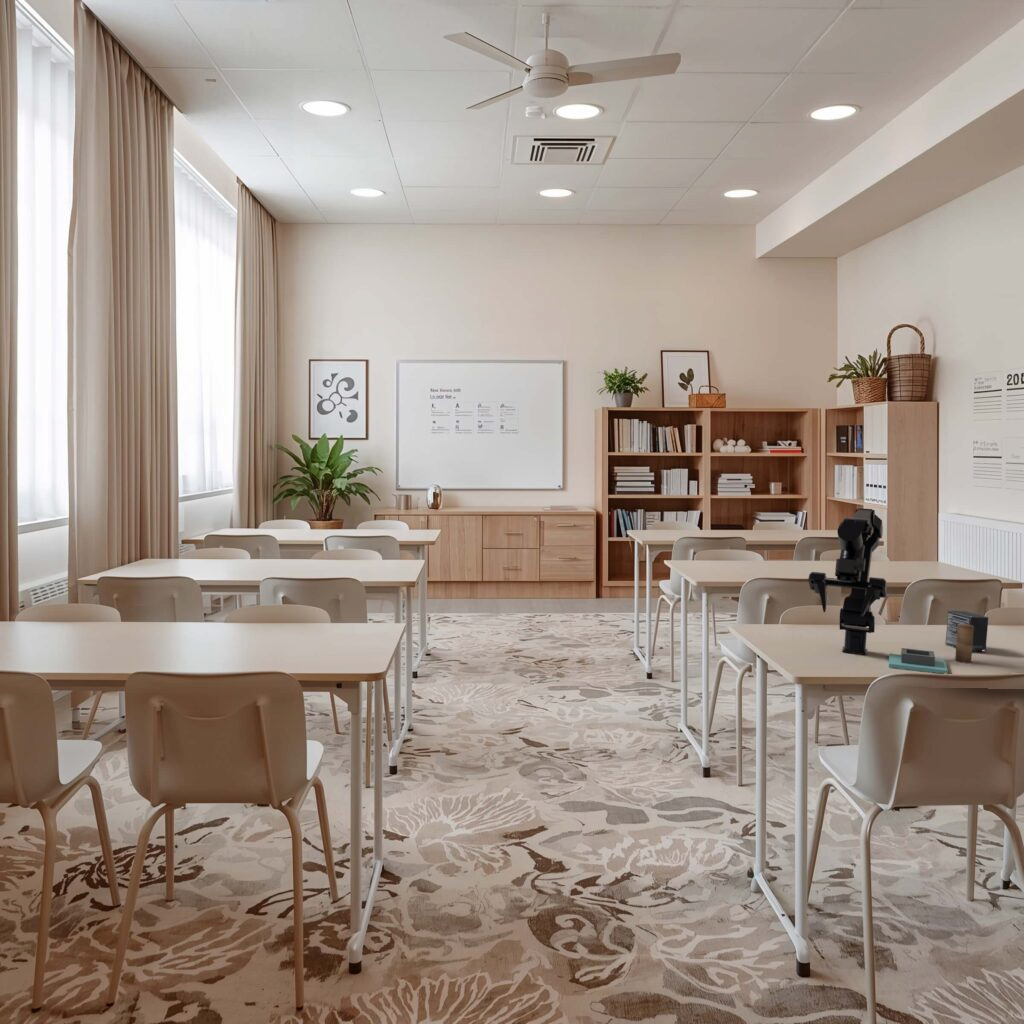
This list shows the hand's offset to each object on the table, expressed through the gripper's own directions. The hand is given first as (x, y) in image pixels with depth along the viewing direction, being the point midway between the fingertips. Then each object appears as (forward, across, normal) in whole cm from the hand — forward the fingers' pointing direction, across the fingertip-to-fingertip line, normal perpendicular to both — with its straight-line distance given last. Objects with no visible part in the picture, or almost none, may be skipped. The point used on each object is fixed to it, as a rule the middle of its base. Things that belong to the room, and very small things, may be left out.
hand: (842, 613), depth 229 cm
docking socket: (0, +17, +26) cm, 31 cm away
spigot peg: (-8, +28, +38) cm, 47 cm away
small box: (-19, +28, +55) cm, 64 cm away
